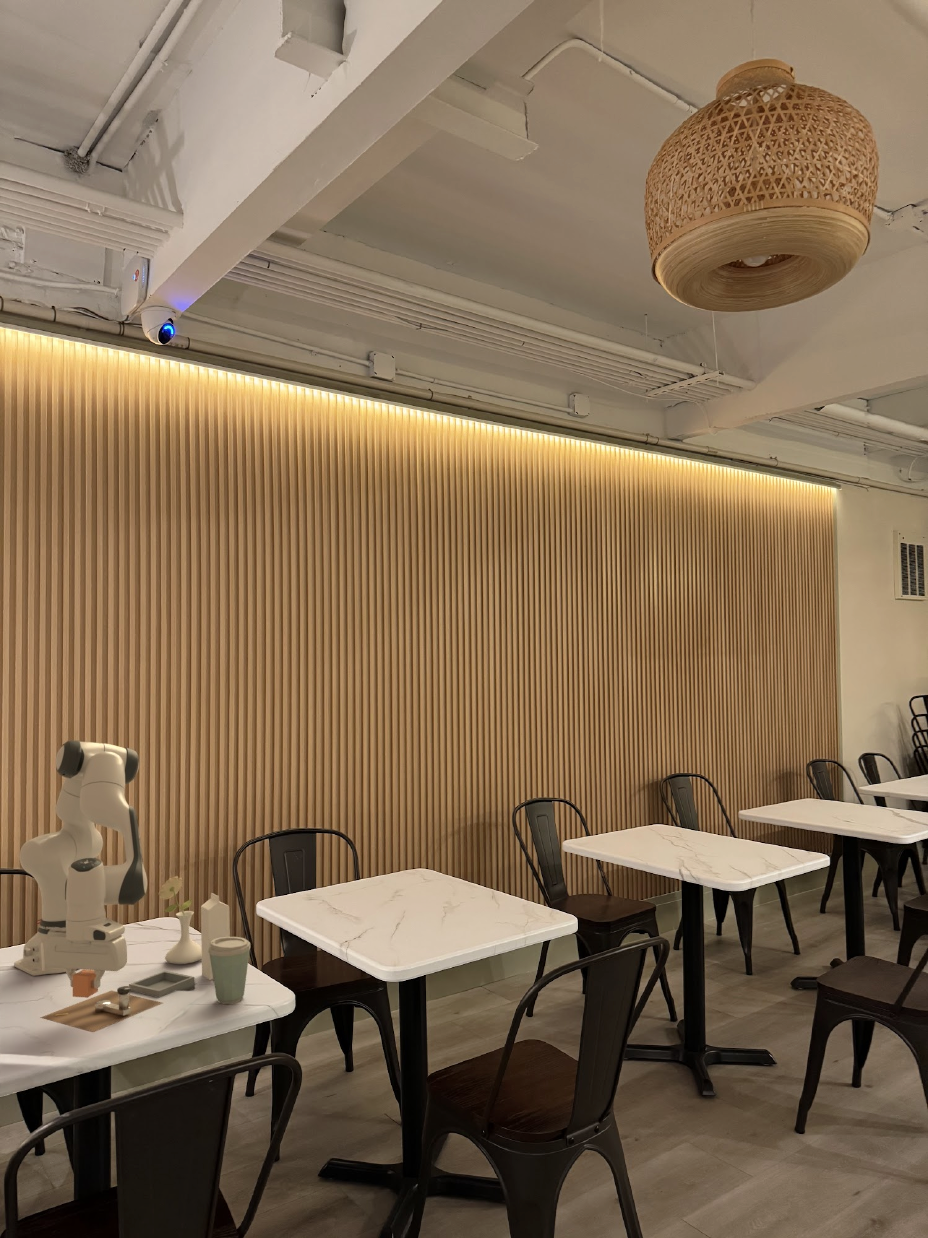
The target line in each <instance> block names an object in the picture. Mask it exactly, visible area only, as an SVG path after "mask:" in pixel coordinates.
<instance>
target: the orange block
mask: <svg viewBox="0 0 928 1238" xmlns="http://www.w3.org/2000/svg"><path fill="white" fill-rule="evenodd" d="M96 975H97V974H95V970H85V969H81V970H80V971H78V972H76V974H74V975H73V987H72V997H73V998H86V999H87V998H88V999H89V997H91V996H93V995H94V994H96V993H98V992H99V988H97V989H96V988H91V981H92V980H94V979H95V977H96Z"/></svg>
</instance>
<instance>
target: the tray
mask: <svg viewBox="0 0 928 1238" xmlns="http://www.w3.org/2000/svg"><path fill="white" fill-rule="evenodd" d="M195 980H196V979H195V976H192V975H187V974H183V973H178V972H173V971H168V970H163V971H160V972H158V973H155V974H153V975H150V976H148V977H145V978H143V979H142V978H141V979H139V980H137V981H134V982H131V983H129V984H128V986H130V987H131V991H130V992H135V993H139V994H143V995H147V996H152V997H155V998H160V997H161V998H162V997H163V996H166V995H168V994H171V993H173V992H177V991H178V992H189V991H193V990H195V988H196V986H195Z"/></svg>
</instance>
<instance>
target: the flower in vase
mask: <svg viewBox="0 0 928 1238" xmlns="http://www.w3.org/2000/svg"><path fill="white" fill-rule="evenodd" d="M182 887H183V879H182V877H179V876H178V875H176V876H173V877H169V878H168V880H166V881H165V882H164V884H162V885H161V887H160V889H159V891H158V895H159V898H158V899H161V900H169V899H171V898H173V897H175V901H176V903H175V904H174V903H173V904H170V905H168V906H167V907H166V909H164V911H163V912H164V913H172V912H174V911H175V910H176V909H177V908H178V909H180V912H176V913H175V916H176V917H177V918H178V920H179V924H180V939H179V940H178V942H177V943H175V945H174V946H172V947H171V948H170V950H168V952H167V953H166V954H165V956H164V959H165V961H166V962H167V963H169V964H173V965H185V964H192V963H196V962H198V961H200V960H202V945H200V944H199V943H197V942H196V941H193V939H192V938H191V936H190V923H191V919H192V916H193V915H194V914H195V912H194V911H191V910H186V909H188V908H190V907H191V906H192V898H189V899H188V900H187V901H185V902H183V903H182V904H181V906H180V905H179V902H178V898H177V894H178V892H179V891H180V890H181V888H182ZM184 910H185V911H184Z"/></svg>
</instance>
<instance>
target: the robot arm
mask: <svg viewBox="0 0 928 1238" xmlns="http://www.w3.org/2000/svg"><path fill="white" fill-rule="evenodd" d="M55 769H56V772H57V773H58V775H60V776H61V777H64V781H63V783H62V786H61V789H60V792H59V796H58V798H57V802H56V803H55V807H54V810H55V814H56V815H57V817H58V818H59V819H60V821H62V822H63V823H62V827H61V829H60V830H58V831H55V832H50V833H45V834H40V835H38V836H36V837H33V838H31V839H30V840H27V841H26V842H24V843H23V845H22V846H21V848H20V851H19V862H20V865H21V867H22V869H23V870H24V871H25V872H26V873H27V874H29V875H31V876H32V877H33V878H34V880H35V882H36V883H37V885H38V887H39V891H40V895H41V896H40V897H41V919H37V920H36V921H37V923H36V925H38V928H37V933H35V934H34V935H33V936H32V937H31V938H30V939H29V940H28V941H27V942H26V943H25V944H24V946H23V951H22V958H20V959H18V960H16V961H15V962H14V963H13V966H14V967H15V968H16V969H18V970H20V971H23V972H24V973H26V974H29V975H31V976H41V975H48V974H50V975H51V974H60V973H61V974H62V973H66V975H67V977H68V979H69V981H70V987H71V988H73V975H74V974H76V973H77V972H76V971H77V970H95V974H97V975H96V977H95V979H94V980H92V981H91V988H96V989H97V988H98V989H99V988H100V987H101V979H102V978H103V976H104V974H105V972H118V971H120V970H122V969H123V968H125V966H126V965H127V964H128V949H127V948H128V947H127V941H126V939H125V937H124V935H123V934H125V930H126V929H125V925H124V924H122V923H120V922H117V921H115V920H112V919H111V918H108V917H106V916H107V915H106V914H107V913H106V909H105V906H113V905H121V906H122V905H124V906H126V905H127V906H134V905H135V904H137V903H138V902H139V901H141V900H142V899H143V898H144V897H145V895H147V889H148V876H147V873H146V870H145V866H144V861H143V852H142V845H141V844H142V843H141V835H140V828H139V821H138V815H137V812H136V809H135V807H134V806H132V805H129V804H128V802H127V800H126V797H125V794H126V793H125V791H126V790H125V789H126V785H127V784H130V783H131V782H133V781H134V779H135V777H136V775H137V774H138V772H139V769H140V757H139V754H138V753H137V751H136V750H134V749H132V748H129V747H121V746H118V745H114V744H111V743H105V742H102V743H101V742H92V741H80V740H75V739H74V740H67V741H66V742H64V743H62V744H61V746H60V748H59V749H58V751H57V753H56V756H55ZM95 825H98V826H101V827H104V828H109V829H112V830H113V831H115V832H118V833H119V834H121V836H123V844H124V853H125V862H124V863H122V864H113V865H112V864H111V865H104V862H103V860H101V859H100V858H97V857H98V856H99V855H100V854H101V853H102V850H103V846H104V839H103V836H102V834H101V833H100V831H99V830H98V829H97V828H96V826H95Z"/></svg>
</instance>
